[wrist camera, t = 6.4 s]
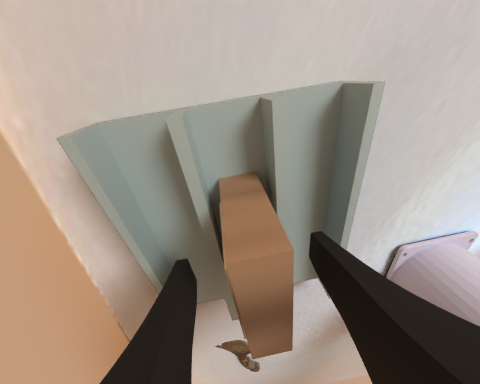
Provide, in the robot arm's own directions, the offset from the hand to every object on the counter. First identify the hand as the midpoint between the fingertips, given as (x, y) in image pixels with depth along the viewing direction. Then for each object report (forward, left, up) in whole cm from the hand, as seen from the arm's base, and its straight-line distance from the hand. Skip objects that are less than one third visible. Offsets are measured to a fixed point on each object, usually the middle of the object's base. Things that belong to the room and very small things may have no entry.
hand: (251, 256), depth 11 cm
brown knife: (-24, +4, -4) cm, 25 cm away
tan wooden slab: (0, 0, -3) cm, 3 cm away
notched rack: (0, 0, -4) cm, 4 cm away
